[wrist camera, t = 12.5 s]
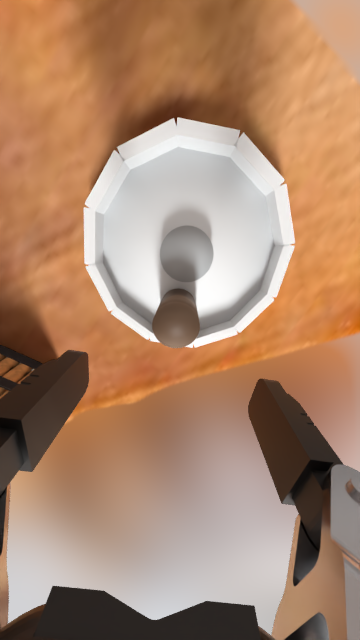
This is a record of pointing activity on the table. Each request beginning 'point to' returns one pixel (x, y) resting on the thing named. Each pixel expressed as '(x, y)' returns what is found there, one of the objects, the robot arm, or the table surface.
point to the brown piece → (176, 319)
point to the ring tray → (188, 228)
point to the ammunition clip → (14, 369)
